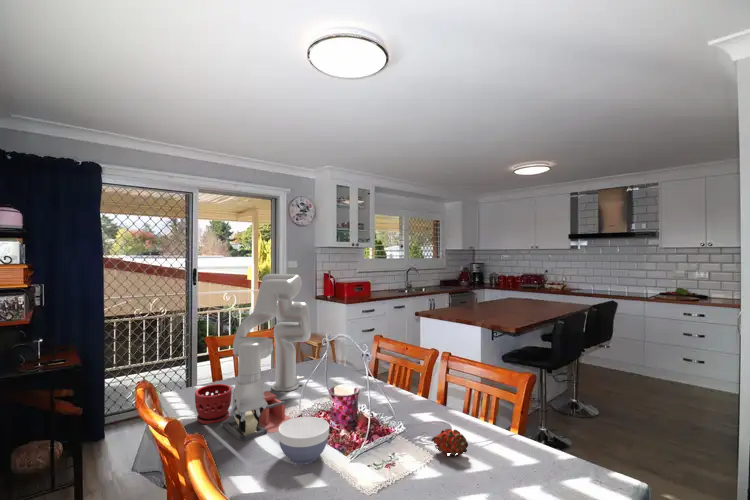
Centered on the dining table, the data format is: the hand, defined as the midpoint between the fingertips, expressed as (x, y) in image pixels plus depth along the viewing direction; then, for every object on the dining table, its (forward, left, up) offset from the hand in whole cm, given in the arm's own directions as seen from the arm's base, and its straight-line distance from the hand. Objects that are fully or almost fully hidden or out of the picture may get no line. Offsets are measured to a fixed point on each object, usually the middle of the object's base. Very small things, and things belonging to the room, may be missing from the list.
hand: (248, 428), depth 140 cm
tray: (0, -4, -2) cm, 4 cm away
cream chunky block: (0, -4, 0) cm, 4 cm away
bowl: (-7, +25, -3) cm, 26 cm away
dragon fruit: (-43, +55, -3) cm, 70 cm away
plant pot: (+4, -22, -3) cm, 22 cm away
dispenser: (-11, -6, -2) cm, 13 cm away
